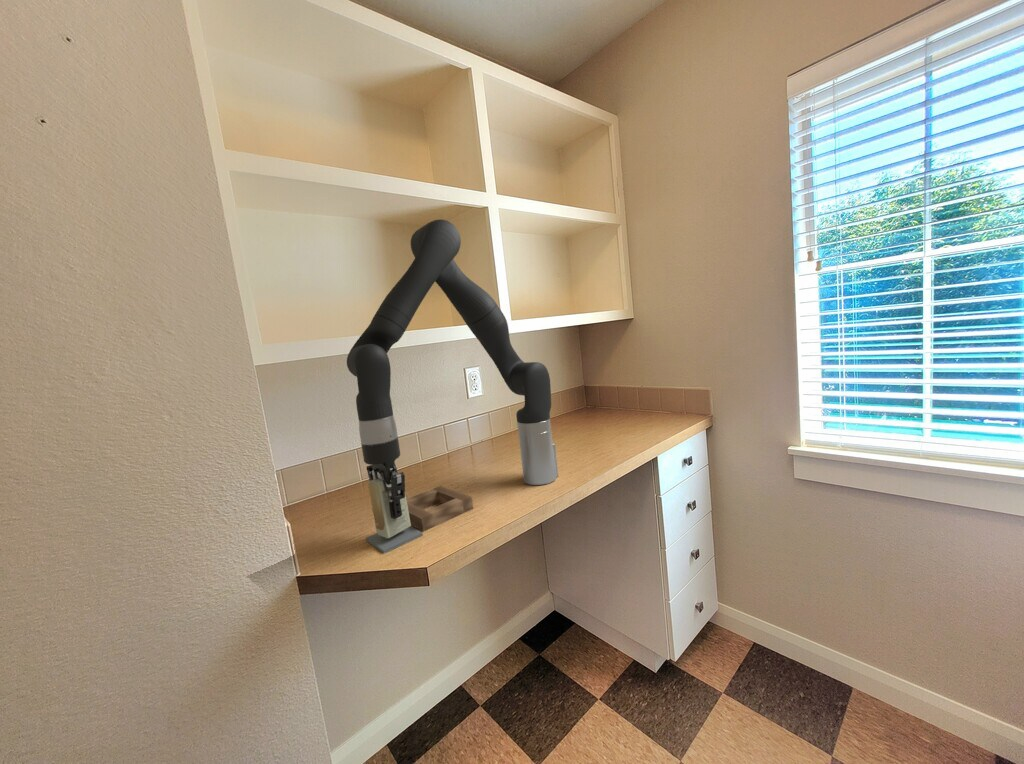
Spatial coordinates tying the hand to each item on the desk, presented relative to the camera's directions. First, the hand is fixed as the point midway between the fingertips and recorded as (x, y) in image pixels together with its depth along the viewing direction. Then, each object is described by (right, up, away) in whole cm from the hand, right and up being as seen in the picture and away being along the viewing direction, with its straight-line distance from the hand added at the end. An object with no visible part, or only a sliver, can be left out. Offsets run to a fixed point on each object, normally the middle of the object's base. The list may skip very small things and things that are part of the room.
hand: (391, 513), depth 87 cm
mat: (0, -5, +1) cm, 5 cm away
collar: (+7, -3, +12) cm, 14 cm away
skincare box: (0, -4, 0) cm, 4 cm away
